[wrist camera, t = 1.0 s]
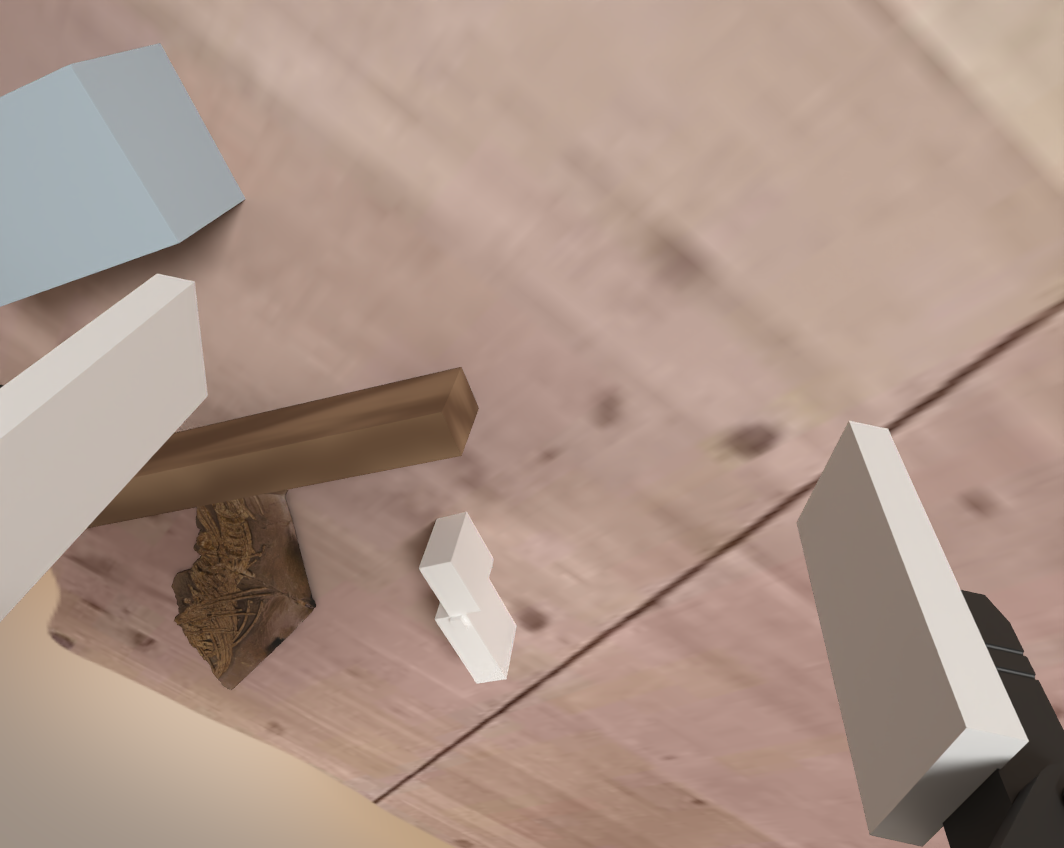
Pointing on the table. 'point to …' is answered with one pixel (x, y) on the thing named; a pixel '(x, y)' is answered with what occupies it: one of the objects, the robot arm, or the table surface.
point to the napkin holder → (468, 598)
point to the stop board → (303, 446)
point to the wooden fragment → (243, 584)
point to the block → (102, 170)
